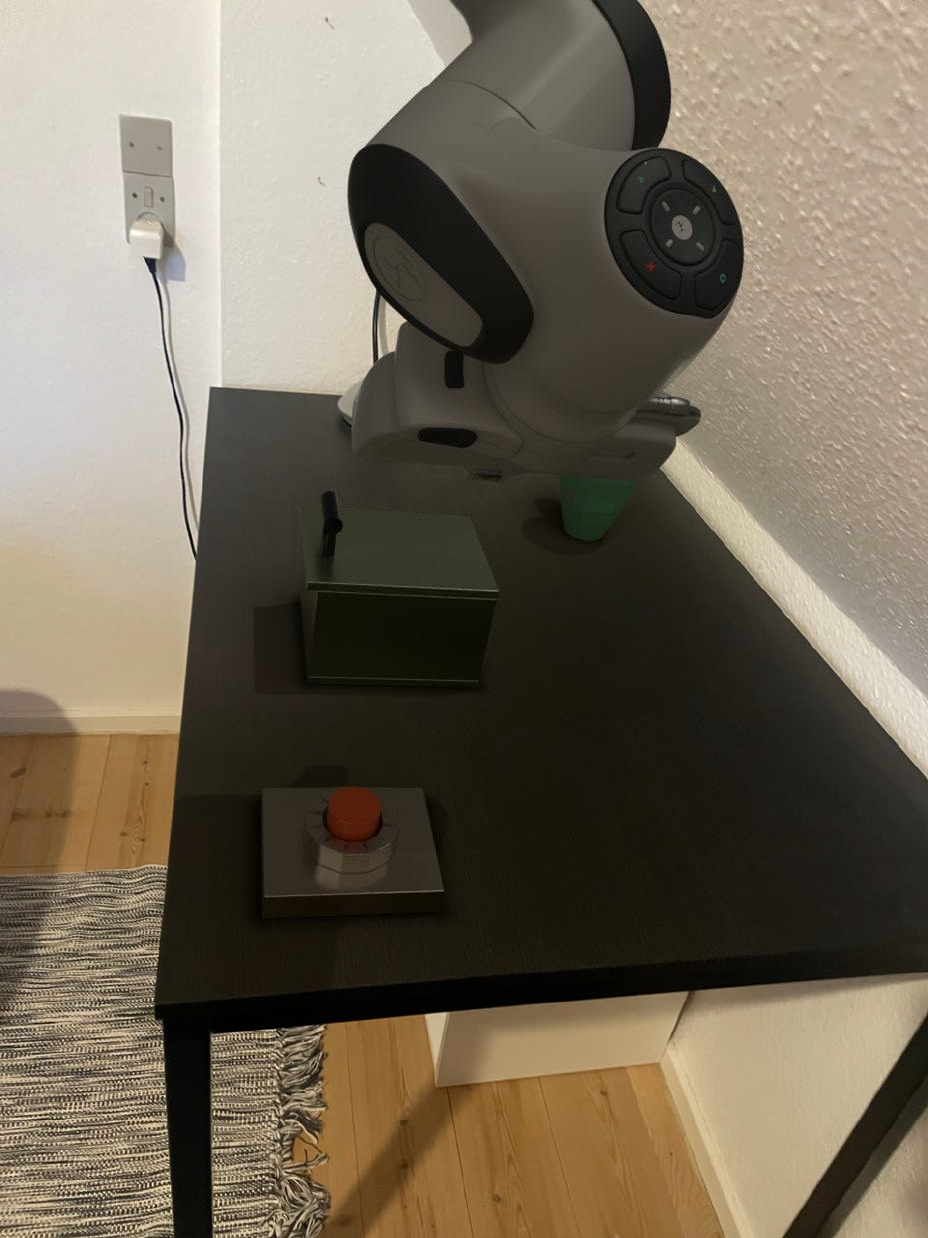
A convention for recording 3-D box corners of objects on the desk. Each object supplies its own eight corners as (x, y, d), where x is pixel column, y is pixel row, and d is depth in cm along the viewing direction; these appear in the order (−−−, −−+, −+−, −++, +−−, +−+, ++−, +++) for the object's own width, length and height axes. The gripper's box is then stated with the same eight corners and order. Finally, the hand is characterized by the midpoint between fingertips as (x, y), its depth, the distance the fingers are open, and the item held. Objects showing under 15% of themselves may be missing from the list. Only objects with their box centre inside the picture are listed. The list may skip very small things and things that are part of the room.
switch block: (262, 919, 62) (265, 878, 60) (260, 809, 70) (263, 769, 68) (439, 912, 65) (449, 873, 63) (418, 807, 73) (426, 769, 71)
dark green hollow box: (307, 684, 84) (317, 590, 78) (300, 600, 94) (308, 513, 89) (477, 688, 87) (497, 599, 82) (451, 606, 98) (468, 524, 93)
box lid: (306, 590, 78) (310, 541, 76) (299, 512, 89) (303, 467, 87) (497, 598, 82) (508, 553, 80) (468, 523, 93) (476, 481, 91)
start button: (328, 842, 64) (330, 824, 63) (324, 804, 67) (326, 786, 66) (380, 842, 65) (383, 823, 64) (375, 804, 68) (378, 786, 67)
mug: (633, 552, 116) (656, 478, 111) (559, 549, 113) (579, 474, 108) (591, 497, 128) (610, 428, 122) (523, 493, 125) (540, 422, 119)
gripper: (711, 356, 57) (617, 440, 70) (373, 316, 51) (340, 414, 65) (718, 456, 55) (621, 523, 69) (372, 425, 50) (339, 503, 63)
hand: (482, 470), depth 67 cm, fingers closed
